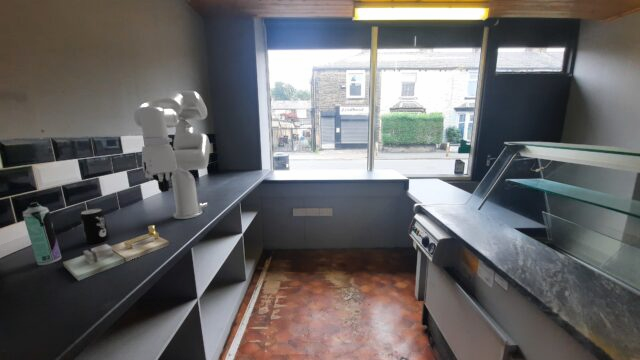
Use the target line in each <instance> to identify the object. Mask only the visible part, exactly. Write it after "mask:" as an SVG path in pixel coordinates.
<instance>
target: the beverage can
mask: <svg viewBox="0 0 640 360" xmlns="http://www.w3.org/2000/svg"><path fill="white" fill-rule="evenodd" d="M80 214H81V215H80V221H81V227H82V230H83V233H84V238H85V242H86V243H88V244H90V245H93V244H99V243H102V242H105V241H107V240H108V238H109V237H110V236H109V231H108V226H107V222H106V217H105V212H104V211H102V208H91V209H87V210H83V211H81V213H80Z"/></svg>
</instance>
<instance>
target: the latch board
mask: <svg viewBox="0 0 640 360" xmlns="http://www.w3.org/2000/svg"><path fill="white" fill-rule="evenodd" d="M147 234H148V233H147ZM147 234H143V235H139V236H137V237H134V238H131V239H128V240H125V241H123V242H122V241H121V242H119V243H116V244H113V245H109V244H107V243H105V244H102V245H98V246H95V247H92V248H90V250H91V251H89V250H88V249H86V250H83V255H80V256H76V257H74V258H72V259H71V258H70V259H69V260H68V259H67V260H66V261H63V262H62V264H63V267H64V268H65V269H66V270H67V271H68V272H69V273H70V274H71V275H72V276H73V277H74V278H75V279H76V280H77V281H78V282H79V281H81V280H85V279H86V278H89V277H92V276H94V275H97V274H99V273H101V272H105V271H107V270H109V269H112V268H114V267H117V266H120V265H122V264H125V263H127V262H129V261H132V259H133V260H135V259H137V257H138V258H140V257H143V256H145V255H148V254H150V253H152V252H155V251H157V250H158V251H159V250H160V249H162V248H165V247H166V248H167V247H168V246H170V242H169V240H166V239H165V238H162V237H160V236H159V238H156V239H155V238H154V237H151V238H148V239H145V240H142V241H139V242H137V243H134V244H131V246H132V247H131V248H126V247H125V244H124V242H126V241H129V240H132V239H135V238H138V237H141V236H144V235H147ZM134 258H135V259H134Z"/></svg>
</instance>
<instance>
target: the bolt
mask: <svg viewBox="0 0 640 360" xmlns="http://www.w3.org/2000/svg"><path fill="white" fill-rule="evenodd" d="M155 227H156V225H154V224H152V225H148V226H147V229H148V233H147V235H146V234H143V235H144V236H143V235H140V236H141V237H140V236H137V237H138V238H137V237H134V238H135V239H134V238H131V239H132V240H131V239H128V240H129V241H128V240H125V241H126V242H125V241H123V242H124V244H125V247H126V248H131V247H132V246H131V244H134V243H137V242H139V241H142V240H145V239H148V238H151V237H154V238H155V239H156V238H159V237H160V234H159V232H157V231H156V228H155Z"/></svg>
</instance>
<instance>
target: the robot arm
mask: <svg viewBox="0 0 640 360" xmlns="http://www.w3.org/2000/svg"><path fill="white" fill-rule="evenodd" d="M207 117H208V109H207V106H206V104H205V102H204V99H203V98H202V96H201V95H200V94H199V92H197V91H195V90H172V91H170V92H168V93H167V94H166V95H165V96H164V97H162V98H158V99H154V100H151V101H147V102H146V101H145V102H144V103H141V104H140V105H139V106H137V107H136V108H135V109H134V112H133V120H134V122H135V124H136V125H137V126H138V127H140V128H141V129H142V136H143V137H142V138H143V141H144V146H142V148H141V164H142V171H143V173H144V174H145V175H144V177H145V178H147V179H153V180H155V181H157V184H158V185H157V186H158V189H159V191H160V192H163V193H165V192H169V191H170V183H169V181H170V179H171V183H172V189H173V190H172V191H173V195H174V196H173V198H174V203H175V210H176V211H175V212H174V213H173V215H172V216H173V219H176V220H188V219H192V218H196V217H199V216H201V215H202V214H203V210H202V209H203V208H205V207H208V202H203V203H202V202H199V203H198V195H197V187H196V186H197V185H196V180H195V177H194V175H193V174H192V173H191V171H193V170H194V171H197V170H205V169H207V168H208V166H209V160H210V148H211V147H210V146H211V145H210V144H211V143H210V140H209V137H208V135H207V134H206V133H202V132H198V133H197V132H195V131H196V130H195V127H194V126H193V125H192V124H191V123H190V122H188V121H187V120H189V121H191V120H205V119H206V118H207ZM168 128H169V129H170V128H175V132H174V138H173V139H172V138H171V137H169V135H168ZM170 142H171V143H172V142H173V145H171V144H170ZM172 146H173V147H172ZM173 148H174V149H173Z"/></svg>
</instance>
